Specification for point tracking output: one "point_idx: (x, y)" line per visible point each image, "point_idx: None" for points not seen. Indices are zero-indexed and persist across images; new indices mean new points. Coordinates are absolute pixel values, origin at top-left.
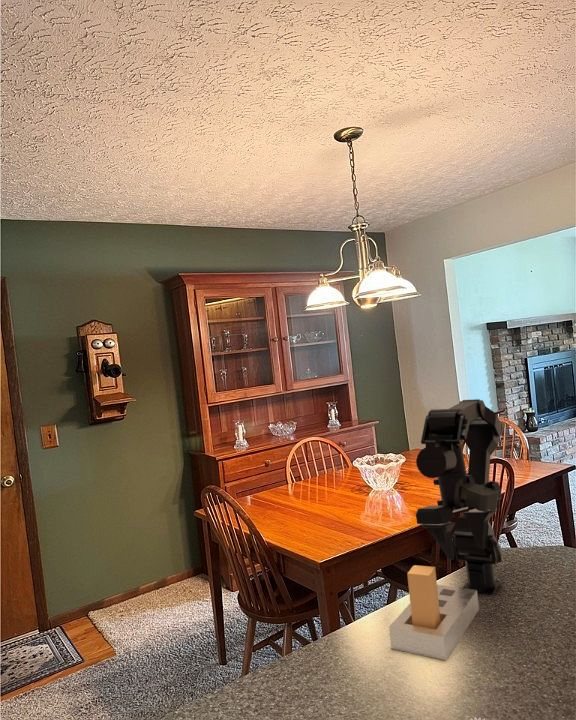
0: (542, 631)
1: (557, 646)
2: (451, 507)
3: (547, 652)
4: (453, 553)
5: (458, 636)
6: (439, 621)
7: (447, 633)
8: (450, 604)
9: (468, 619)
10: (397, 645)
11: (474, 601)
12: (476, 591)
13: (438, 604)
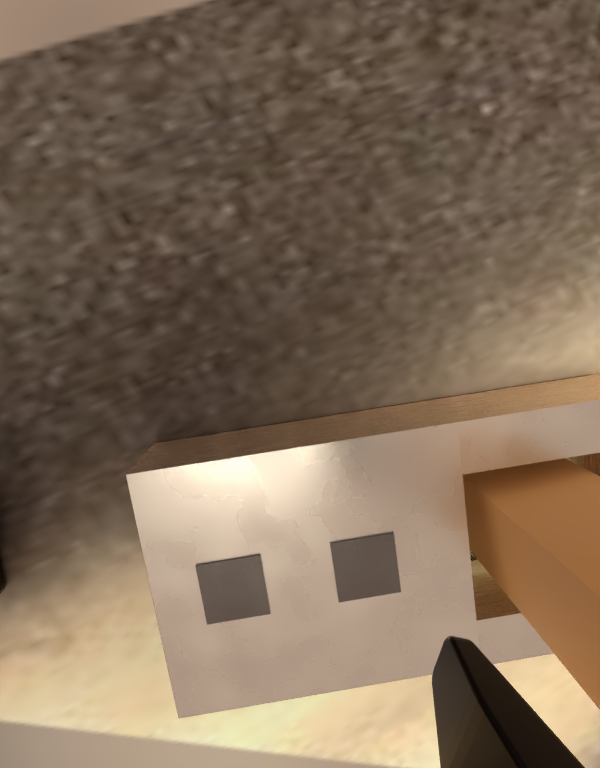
0: (188, 133)
1: (282, 33)
2: None
3: (351, 56)
4: (481, 678)
5: (447, 401)
6: (499, 485)
7: None
8: (353, 512)
9: (306, 425)
10: None
11: (193, 453)
12: (136, 471)
13: (526, 521)
